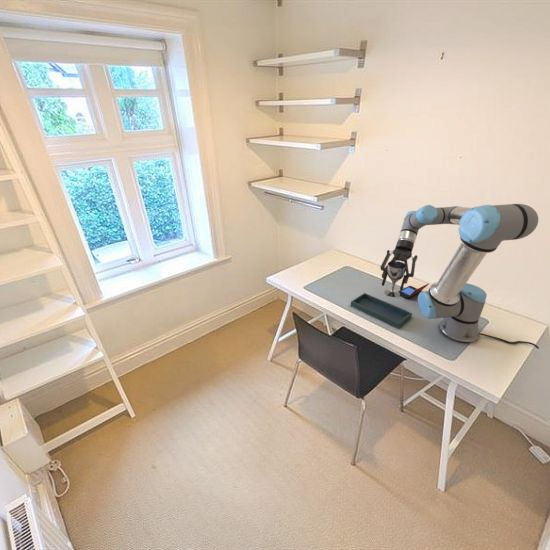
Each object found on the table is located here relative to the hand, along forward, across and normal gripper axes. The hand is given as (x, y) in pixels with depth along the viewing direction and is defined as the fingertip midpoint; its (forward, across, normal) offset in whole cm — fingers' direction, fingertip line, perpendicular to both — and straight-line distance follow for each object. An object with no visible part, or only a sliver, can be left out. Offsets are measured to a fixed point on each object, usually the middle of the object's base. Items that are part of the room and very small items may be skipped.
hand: (391, 287), depth 143 cm
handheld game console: (-8, -6, -34) cm, 35 cm away
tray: (+9, +4, -16) cm, 19 cm away
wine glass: (+1, 0, -6) cm, 6 cm away
